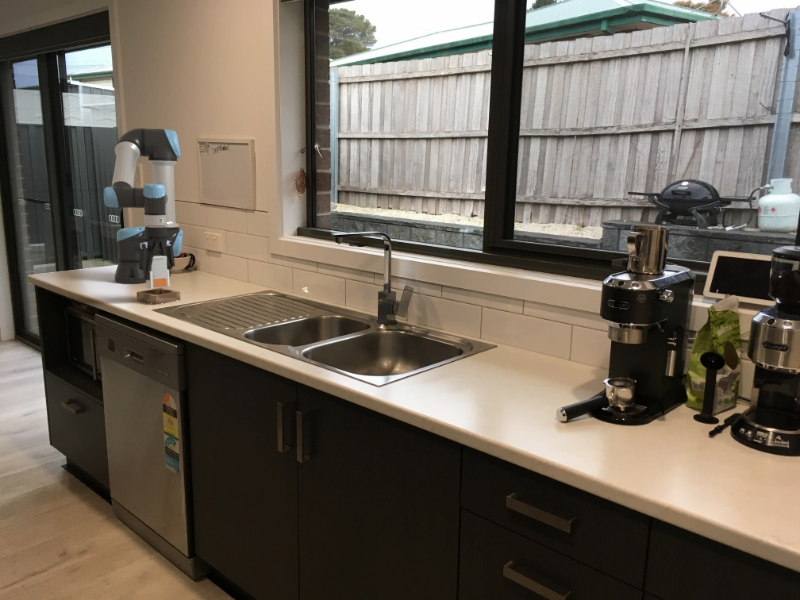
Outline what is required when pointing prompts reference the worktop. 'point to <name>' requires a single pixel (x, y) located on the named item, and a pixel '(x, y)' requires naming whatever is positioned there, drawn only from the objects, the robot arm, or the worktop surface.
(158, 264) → the skincare box
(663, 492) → the worktop surface
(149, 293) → the rectangular wooden frame
